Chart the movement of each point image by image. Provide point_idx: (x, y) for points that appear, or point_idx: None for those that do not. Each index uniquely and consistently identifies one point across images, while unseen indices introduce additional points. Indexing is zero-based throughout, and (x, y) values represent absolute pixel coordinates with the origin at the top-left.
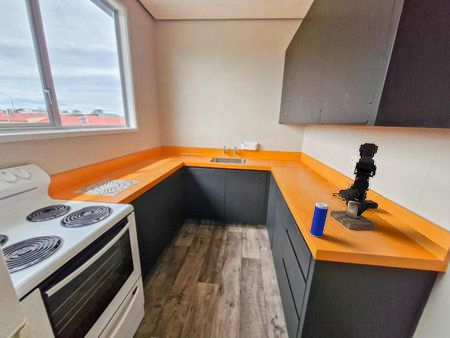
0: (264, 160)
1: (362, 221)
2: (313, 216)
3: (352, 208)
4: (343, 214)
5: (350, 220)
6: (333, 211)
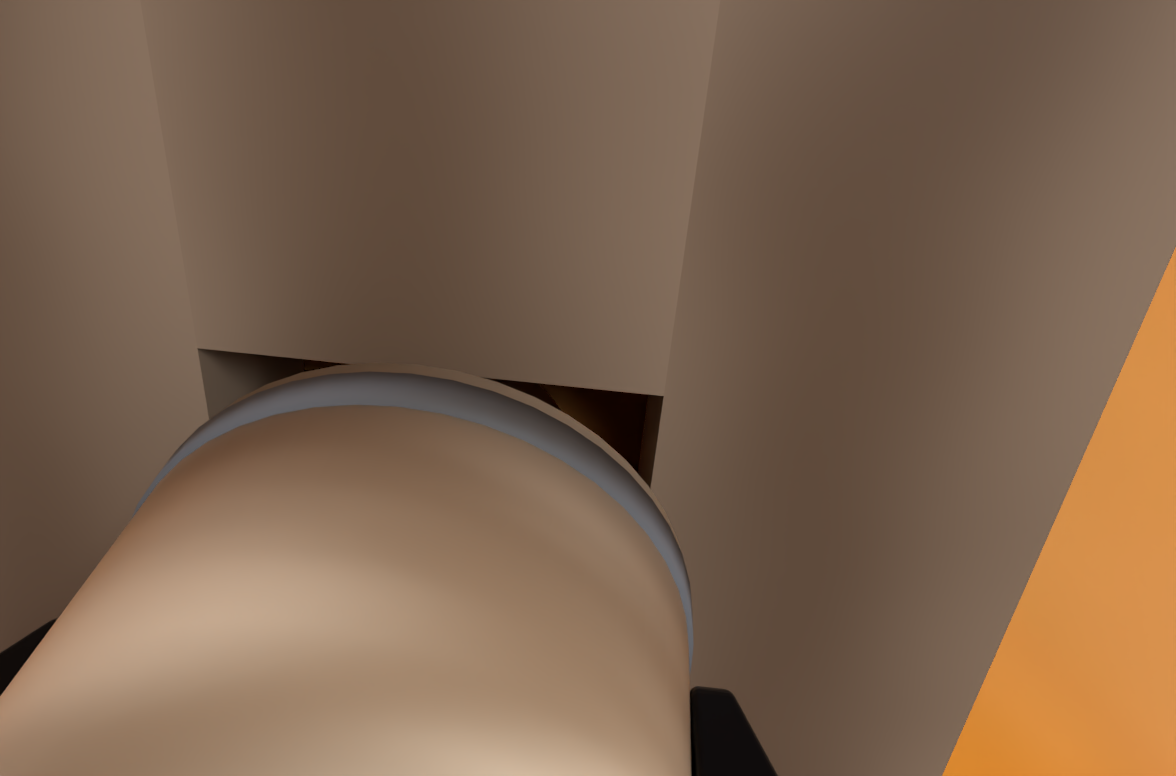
0: None
1: (63, 598)
2: None
3: None
4: (659, 339)
5: (36, 174)
6: (1116, 29)
